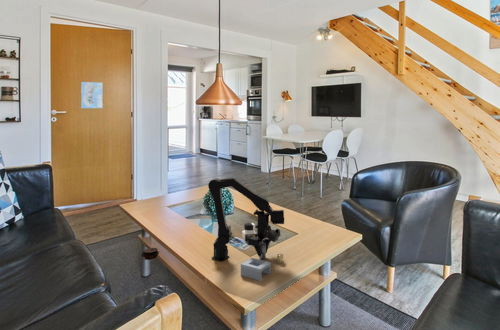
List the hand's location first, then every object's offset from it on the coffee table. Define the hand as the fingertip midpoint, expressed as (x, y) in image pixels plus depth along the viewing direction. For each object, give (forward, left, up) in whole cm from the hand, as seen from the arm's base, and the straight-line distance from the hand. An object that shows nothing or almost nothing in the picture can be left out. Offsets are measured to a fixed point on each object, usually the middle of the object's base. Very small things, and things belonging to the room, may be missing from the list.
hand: (262, 254), depth 148 cm
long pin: (0, 0, -3) cm, 3 cm away
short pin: (+9, +2, -3) cm, 10 cm away
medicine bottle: (-19, +18, -3) cm, 26 cm away
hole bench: (+6, -15, -3) cm, 16 cm away
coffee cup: (-49, -27, -13) cm, 58 cm away
